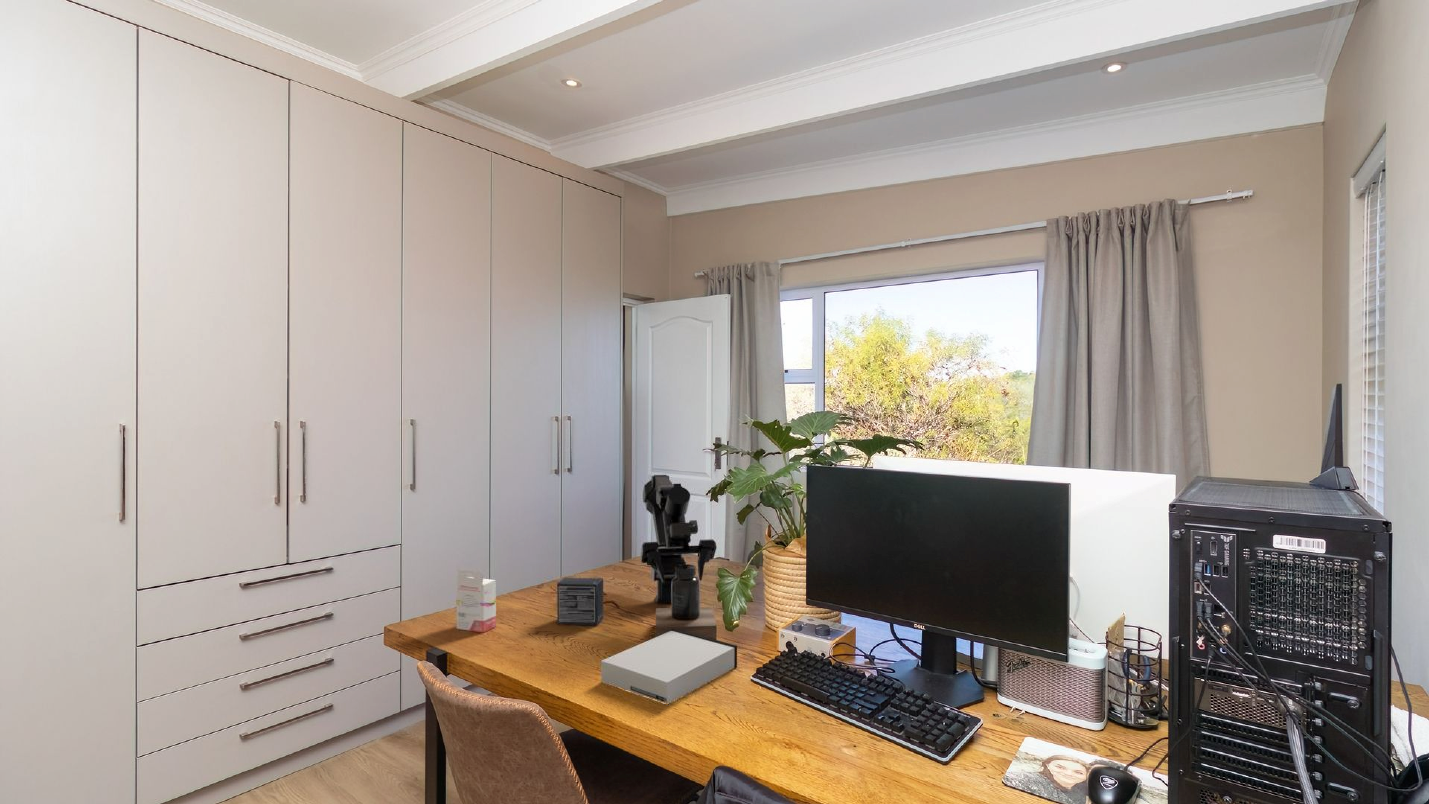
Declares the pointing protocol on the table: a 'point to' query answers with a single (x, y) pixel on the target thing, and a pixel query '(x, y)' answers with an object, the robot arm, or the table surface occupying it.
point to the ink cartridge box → (475, 601)
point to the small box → (580, 601)
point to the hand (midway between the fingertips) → (682, 580)
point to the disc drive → (669, 665)
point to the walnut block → (687, 623)
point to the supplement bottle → (685, 593)
